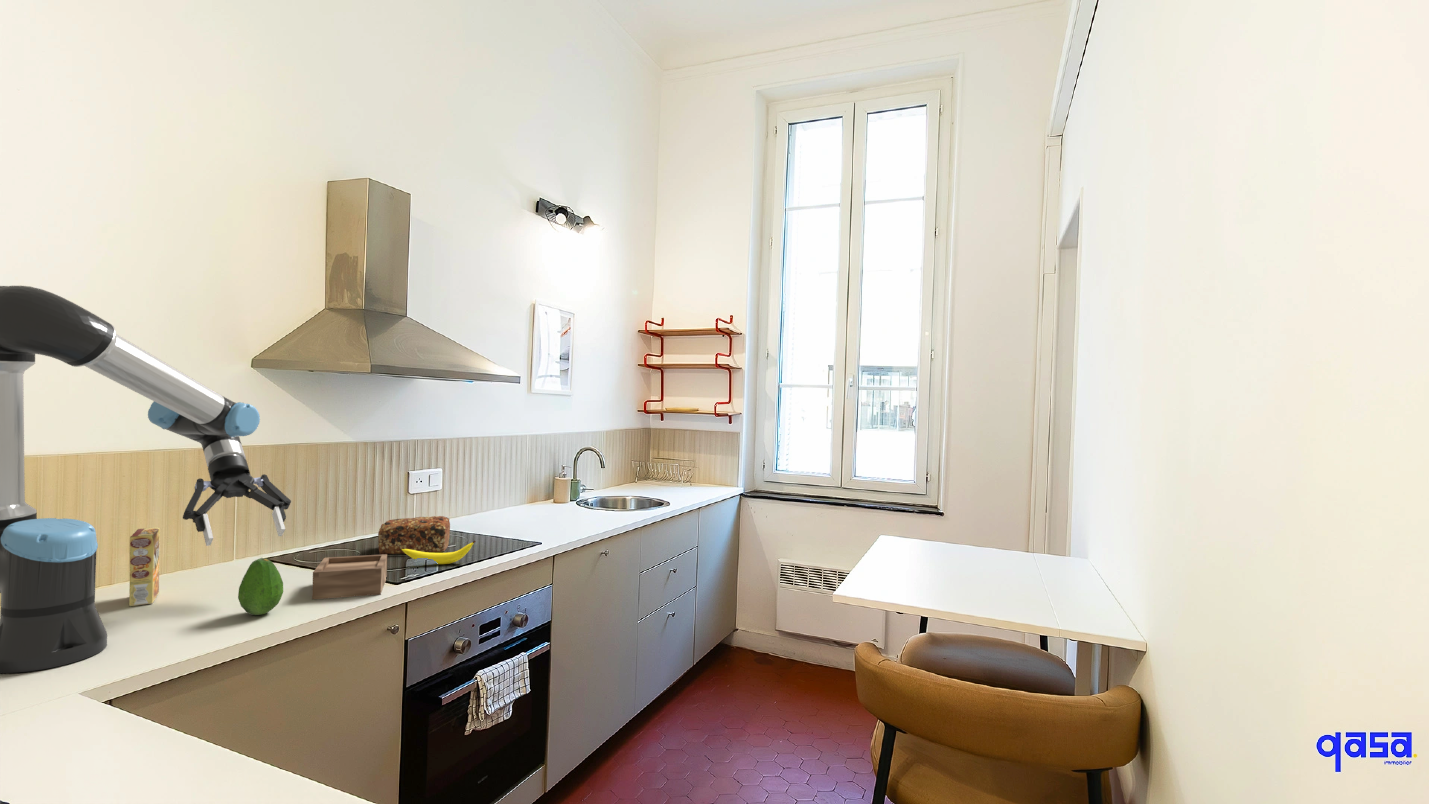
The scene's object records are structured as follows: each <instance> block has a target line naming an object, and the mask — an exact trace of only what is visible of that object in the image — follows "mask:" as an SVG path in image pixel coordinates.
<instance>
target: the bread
mask: <svg viewBox="0 0 1429 804" xmlns="http://www.w3.org/2000/svg"><path fill="white" fill-rule="evenodd" d="M378 529H379V530H378V533H377V535H378V536H377V537H378V543H377V546H378V547H377V548H378V551H379V552H378V553H379V555H384V554H387V555H389V554H390V555H396V554H397V555H402V554H405V553H404V552H403V551H402V549H410V550H416V551H421V552H429V553H443V552H445V551H446V550H447V549H448V548H449V544H450V543H449V541H450V534H451V522H450V518H449V517H446V516H443V515H436V516H435V515H433V516H418V517H416V516H415V517H407V518H393V519H389V520H386V521H385V522H384V523H382V524H381V526H380V527H379V528H378Z"/></svg>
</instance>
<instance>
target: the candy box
mask: <svg viewBox="0 0 1429 804" xmlns="http://www.w3.org/2000/svg"><path fill="white" fill-rule="evenodd" d="M160 529H161V527H148V528H138V529H137V530H136V531H134V533H133V534H131V535H130V536H129V595H128V596H129V601H128V602H129V604H128V606H129V607H135V606H141V605H142V606H143V605H152V604H153V603H154V602H155V600H156V598H157V596H158V595H159V594H160V536H161V535H160V533H161V532H160Z"/></svg>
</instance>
